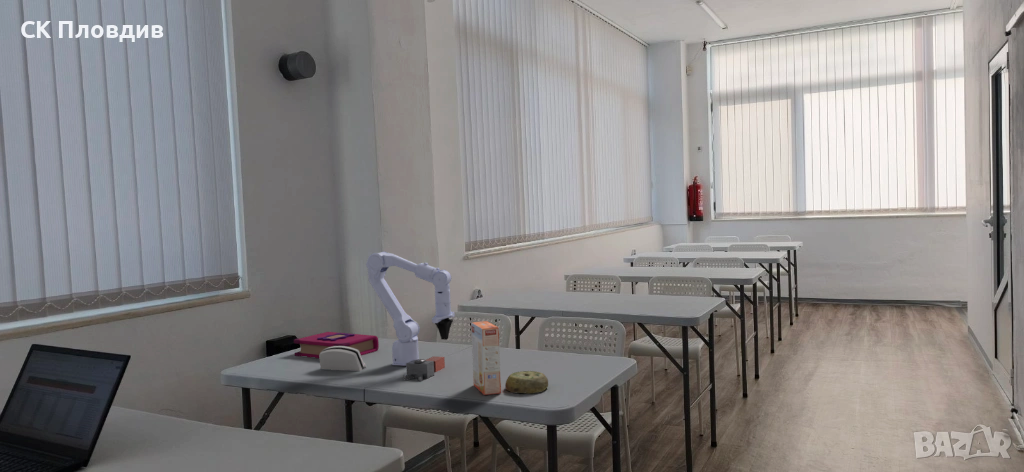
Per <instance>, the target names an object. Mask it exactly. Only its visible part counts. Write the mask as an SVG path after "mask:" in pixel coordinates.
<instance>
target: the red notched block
mask: <svg viewBox="0 0 1024 472" xmlns="http://www.w3.org/2000/svg"><path fill="white" fill-rule="evenodd" d="M425 360H426V361H434V373H438V372H439V371H441V370H443V369H445V368H446V362H445V356H436V355H434V356H431V357H429V358H427V359H425Z"/></svg>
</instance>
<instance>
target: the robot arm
mask: <svg viewBox="0 0 1024 472" xmlns="http://www.w3.org/2000/svg"><path fill="white" fill-rule="evenodd" d="M365 265H366V268H367V275H368V281H369V283H370V286H371V287H372V288H373V291H374V292H375V293H376V295H377V296H378V298H379V299H380V302H381V303H382V305H383V306H384V308H385V309H386V311H387V312H388V315H389V316H390V317H391V319H392V321H393V325H392V326H393V328H394V330H395V335H396V338H397V339H396V340H394V342H392V345H391V352H392V353H391V354H392V362H391V366H406V363H408V362H410V361H412V360H417V359H420V353H419V337H418V335H419V333H420V330H421V329H420V325H419V323H418V322H417V321H415V320H414V319H413V318H412V316H410V314H408V313H406V311H405V310H404V308H403V307H402V304H401V303H400V302H399V300H398V298H397V297H396V296H395V294H394V293H393V291H392V289H391V286H389V284H388V282H387V281H386V279H385V277H386V273H387V271H388V269H389V268H390V267H397V268H400V269H403V270H405V271H409V272H412V273H414V276H415V277H416V278H417V279H421V280H424V281H426V282H428V283H431V284H432V285H434V302H435V303H434V305H435V315H434V316H433V317H431V322H432V324H434V325H435V326H436V328H437V331H438V333H439V335H440V339H441V340H443V341H444V340H445V341H446V340H448V339H449V336H450V330H451V326H452V324H453V323H454V319H451V318H455V316H456V314H455V313H456V312H455V311H452V304H451V303H452V302H451V298H452V297H451V284H450V283H451V282H452V274H451V273H450V272H449V271H448V270H447V269H441V268H440V267H435V266H432V265H429V262H421V263H420V262H419V263H418V264H417V263H415V262H413V261H411V260H409V259H406V258H403V257H401V256H399V255H397V254H395V253H392V252H387V251H381V252H374V253H371V254H370V255H369V256H368V257H367V260H366V263H365Z"/></svg>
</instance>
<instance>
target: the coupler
mask: <svg viewBox="0 0 1024 472" xmlns="http://www.w3.org/2000/svg"><path fill="white" fill-rule="evenodd" d="M433 376H435V372H434V361H426V359H424V358H419V359H417V360H412V361H410V362H408V363H406V374H405V375H403V380H404V379H405V380H404V381H407V379H408V380H411V378H412V379H418V381H419V382H421V381H423V379H424V380H425V379H426V380H427V379H428V380H429V379H430V378H432V377H433Z"/></svg>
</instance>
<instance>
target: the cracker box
mask: <svg viewBox="0 0 1024 472" xmlns="http://www.w3.org/2000/svg"><path fill="white" fill-rule="evenodd" d="M470 325H471V327H470V328H471V346H472V349H471V350H472V374H473V375H472V378H473V379H472V380H473V386H474V387H475V388H476V389H478V391H479V392H480V393H482V395H484V396H488V395H489V396H490V395H499V394H500V395H501V394H502V382H501V379H502V378H501V352H500V351H501V350H500V327H499V326H497V325H495V324H493V323H492V322H489V321H487V320H482V321H474V322H471V324H470Z"/></svg>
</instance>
